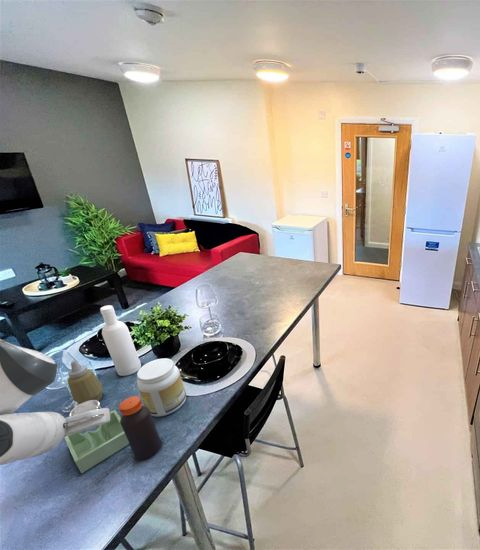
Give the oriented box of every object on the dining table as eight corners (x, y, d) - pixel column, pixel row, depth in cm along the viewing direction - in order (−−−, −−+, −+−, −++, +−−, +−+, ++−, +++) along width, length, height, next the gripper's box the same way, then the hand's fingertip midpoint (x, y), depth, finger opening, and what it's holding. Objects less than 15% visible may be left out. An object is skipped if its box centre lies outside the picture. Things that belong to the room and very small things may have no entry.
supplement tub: (190, 388, 112) (180, 353, 105) (182, 413, 102) (171, 376, 95) (153, 395, 109) (140, 359, 102) (141, 422, 98) (127, 384, 91)
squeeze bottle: (102, 388, 111) (85, 350, 103) (109, 398, 106) (92, 360, 99) (73, 401, 105) (53, 362, 97) (80, 413, 100) (59, 373, 93)
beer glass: (114, 429, 95) (99, 395, 89) (117, 443, 90) (101, 409, 84) (86, 442, 90) (67, 408, 84) (87, 458, 86) (68, 423, 80)
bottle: (144, 368, 121) (122, 307, 108) (120, 379, 115) (95, 315, 103) (137, 360, 125) (116, 300, 113) (115, 369, 119) (89, 307, 107)
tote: (81, 473, 83) (74, 462, 81) (70, 447, 89) (63, 436, 87) (133, 441, 92) (129, 430, 90) (120, 420, 99) (115, 409, 97)
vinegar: (138, 443, 91) (118, 397, 83) (163, 436, 94) (146, 390, 86) (132, 463, 86) (110, 416, 77) (159, 455, 88) (141, 408, 80)
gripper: (97, 401, 68) (117, 401, 80) (-35, 439, 58) (11, 433, 70) (99, 429, 66) (120, 425, 78) (-36, 473, 57) (11, 461, 68)
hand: (67, 429), depth 74 cm, fingers open, 8 cm apart
